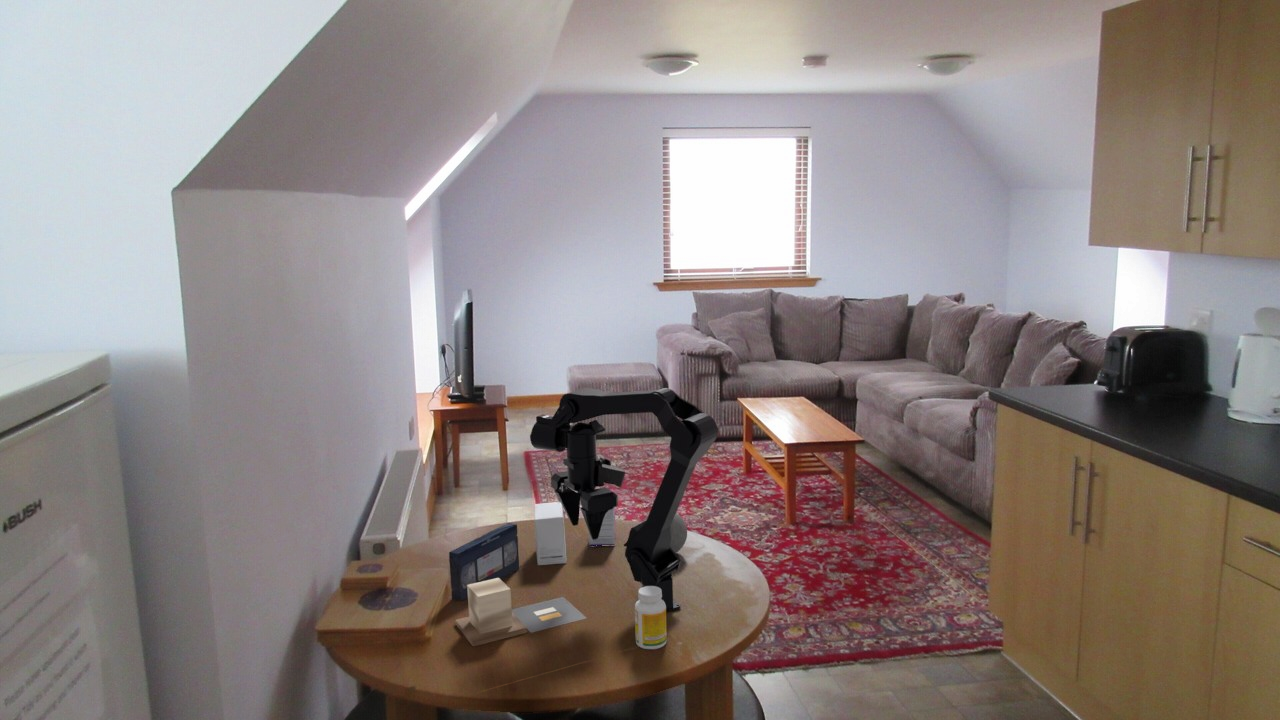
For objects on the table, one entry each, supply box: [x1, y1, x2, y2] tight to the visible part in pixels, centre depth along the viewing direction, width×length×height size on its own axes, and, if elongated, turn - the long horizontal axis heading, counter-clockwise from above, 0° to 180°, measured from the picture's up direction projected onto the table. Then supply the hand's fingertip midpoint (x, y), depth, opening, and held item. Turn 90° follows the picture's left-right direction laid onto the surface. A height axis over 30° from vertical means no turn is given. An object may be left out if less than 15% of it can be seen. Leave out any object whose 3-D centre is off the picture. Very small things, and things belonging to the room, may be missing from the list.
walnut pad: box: [455, 612, 528, 647], centre depth 164 cm, size 10×10×1 cm
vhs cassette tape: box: [448, 522, 520, 602], centre depth 183 cm, size 18×3×10 cm, turn 148°
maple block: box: [467, 578, 513, 634], centre depth 163 cm, size 6×6×7 cm
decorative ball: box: [644, 512, 688, 554], centre depth 196 cm, size 10×10×10 cm
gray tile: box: [512, 596, 587, 634], centre depth 169 cm, size 11×11×1 cm
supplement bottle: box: [634, 586, 668, 650], centre depth 156 cm, size 5×5×10 cm
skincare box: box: [533, 501, 567, 566], centre depth 197 cm, size 10×6×10 cm, turn 6°
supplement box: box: [588, 489, 616, 546], centre depth 204 cm, size 6×6×12 cm
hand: (585, 531), depth 177 cm, fingers open, 9 cm apart
